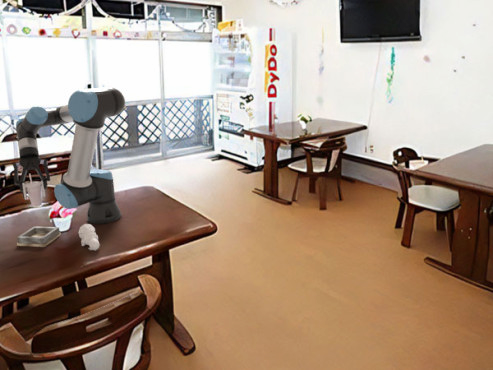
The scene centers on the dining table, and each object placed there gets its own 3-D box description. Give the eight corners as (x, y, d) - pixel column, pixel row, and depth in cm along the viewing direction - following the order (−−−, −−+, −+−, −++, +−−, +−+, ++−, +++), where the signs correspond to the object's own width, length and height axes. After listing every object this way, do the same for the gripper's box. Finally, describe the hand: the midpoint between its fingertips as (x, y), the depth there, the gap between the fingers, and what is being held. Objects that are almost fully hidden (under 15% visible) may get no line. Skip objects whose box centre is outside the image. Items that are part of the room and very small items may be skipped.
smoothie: (32, 202, 183) (26, 171, 179) (47, 202, 184) (42, 171, 179) (26, 208, 177) (19, 176, 173) (41, 207, 178) (35, 175, 173)
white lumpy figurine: (92, 220, 172) (103, 232, 163) (94, 238, 175) (104, 251, 166) (76, 224, 168) (86, 236, 159) (78, 243, 171) (88, 256, 163)
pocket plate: (61, 234, 180) (59, 227, 179) (44, 246, 169) (43, 238, 168) (35, 233, 182) (33, 226, 181) (17, 245, 171) (15, 237, 170)
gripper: (53, 152, 192) (60, 197, 183) (5, 158, 184) (10, 204, 175) (51, 143, 186) (59, 189, 176) (2, 148, 178) (7, 196, 169)
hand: (34, 196), depth 176 cm, fingers closed on smoothie, 6 cm apart
